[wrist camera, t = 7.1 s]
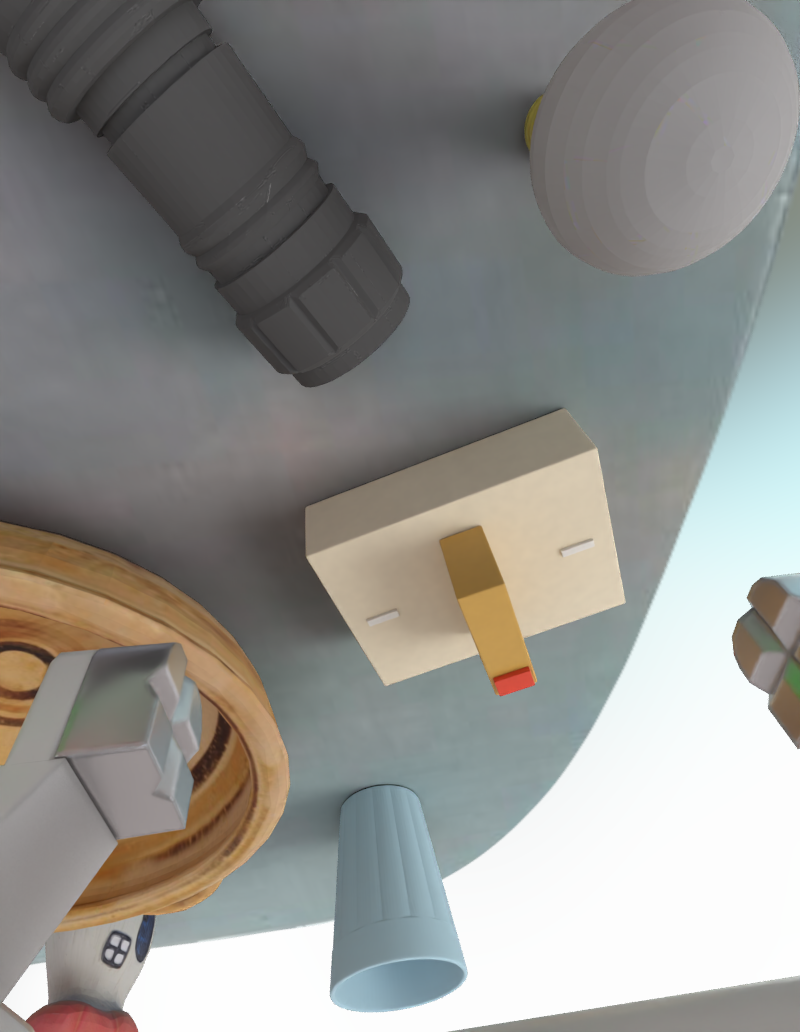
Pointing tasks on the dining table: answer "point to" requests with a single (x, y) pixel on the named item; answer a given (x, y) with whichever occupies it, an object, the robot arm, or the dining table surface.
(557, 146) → the light bulb
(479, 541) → the lock knob
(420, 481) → the plate
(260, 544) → the dining table surface
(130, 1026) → the decorative ornament
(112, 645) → the ceramic bowl
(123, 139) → the flashlight
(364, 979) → the cup
